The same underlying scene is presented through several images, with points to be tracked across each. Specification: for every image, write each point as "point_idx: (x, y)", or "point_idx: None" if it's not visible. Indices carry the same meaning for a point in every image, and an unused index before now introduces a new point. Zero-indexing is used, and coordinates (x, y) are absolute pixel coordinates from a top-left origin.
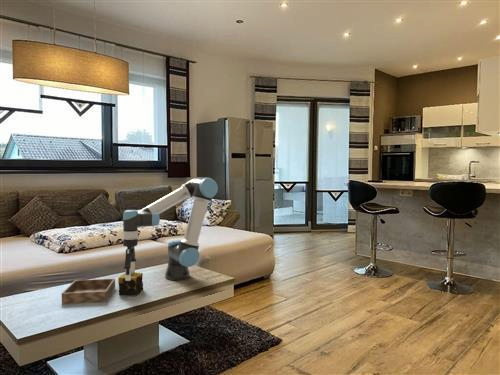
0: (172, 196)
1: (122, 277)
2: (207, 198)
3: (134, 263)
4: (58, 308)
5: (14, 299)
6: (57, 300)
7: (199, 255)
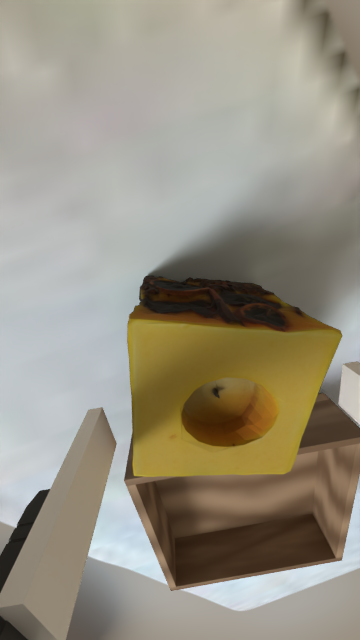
0: None
1: (289, 450)
2: None
3: (45, 554)
4: None
5: (255, 597)
6: None
7: None
